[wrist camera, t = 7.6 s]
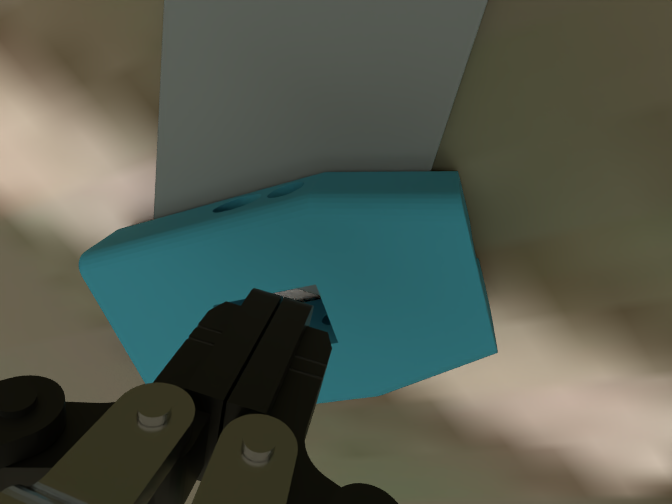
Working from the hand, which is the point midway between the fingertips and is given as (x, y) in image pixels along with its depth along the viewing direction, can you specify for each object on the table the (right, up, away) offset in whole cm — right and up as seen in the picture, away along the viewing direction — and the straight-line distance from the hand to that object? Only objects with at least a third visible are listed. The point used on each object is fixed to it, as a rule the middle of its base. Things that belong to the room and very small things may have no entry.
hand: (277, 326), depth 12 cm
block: (+9, +1, +12) cm, 15 cm away
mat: (-1, +8, +14) cm, 16 cm away
